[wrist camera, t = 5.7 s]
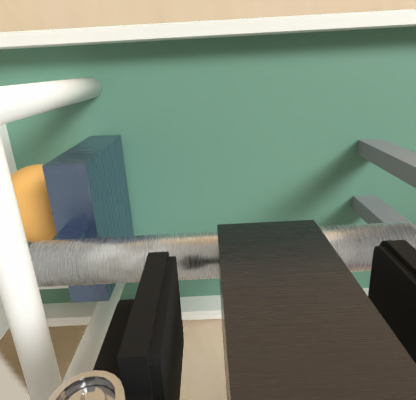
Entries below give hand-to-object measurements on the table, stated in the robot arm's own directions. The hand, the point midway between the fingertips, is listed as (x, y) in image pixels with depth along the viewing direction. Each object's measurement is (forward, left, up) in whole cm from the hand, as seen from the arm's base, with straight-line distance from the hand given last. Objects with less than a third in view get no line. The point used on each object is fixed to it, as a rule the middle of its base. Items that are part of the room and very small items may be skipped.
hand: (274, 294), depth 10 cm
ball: (+10, 0, -9) cm, 13 cm away
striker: (+1, 0, -10) cm, 10 cm away
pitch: (+1, 0, -11) cm, 12 cm away
